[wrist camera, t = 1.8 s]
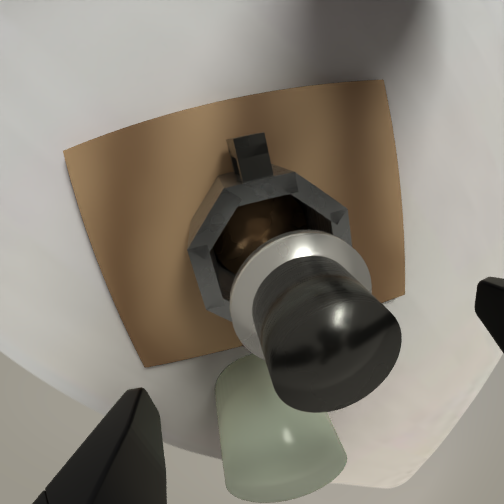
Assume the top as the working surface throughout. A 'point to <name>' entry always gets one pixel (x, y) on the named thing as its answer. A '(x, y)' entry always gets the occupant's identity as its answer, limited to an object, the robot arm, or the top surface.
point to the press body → (253, 217)
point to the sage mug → (271, 438)
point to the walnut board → (201, 179)
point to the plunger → (314, 320)
